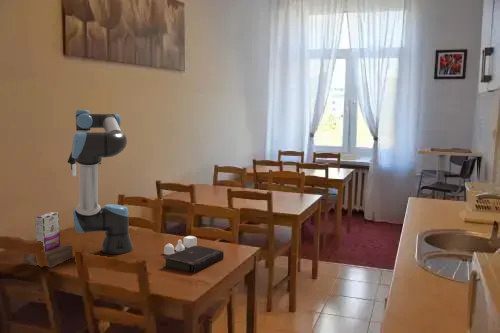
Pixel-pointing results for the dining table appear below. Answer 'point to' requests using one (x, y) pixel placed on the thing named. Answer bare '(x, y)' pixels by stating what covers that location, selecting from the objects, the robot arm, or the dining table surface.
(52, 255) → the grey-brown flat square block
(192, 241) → the container set
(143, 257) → the dining table surface
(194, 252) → the diary
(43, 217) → the candy bar box
